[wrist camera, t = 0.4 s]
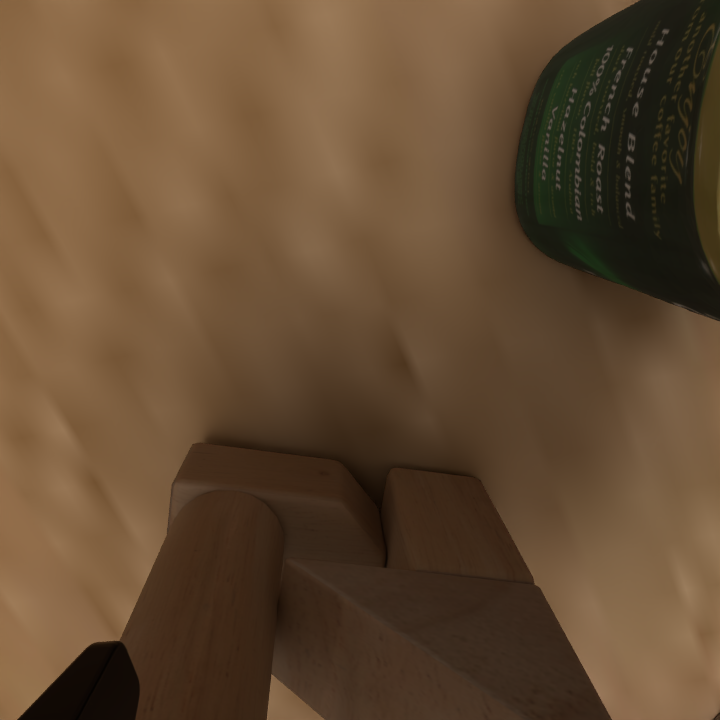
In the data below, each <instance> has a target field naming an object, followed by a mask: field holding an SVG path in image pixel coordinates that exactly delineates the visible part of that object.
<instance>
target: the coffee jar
mask: <svg viewBox="0 0 720 720" xmlns="http://www.w3.org/2000/svg"><path fill="white" fill-rule="evenodd" d="M515 203H516V210H517V214H518V217H519V220H520V223H521V225H522V227H523V229H524V231H525V233H526V234H527V236H528V237H529V239H530V240H531V241H532V242H533V244H534V245H535V246H536V247H537V248H538V249H540V250H541V251H542V252H543V253H545V254H546V255H547V256H549V257H551V258H552V259H554V260H556V261H558V262H561V263H563V264H565V265H568V266H571V267H573V268H576V269H579V270H581V271H584V272H587V273H589V274H592V275H595V276H598V277H601V278H604V279H606V280H609V281H612V282H615V283H618V284H621V285H624V286H627V287H629V288H632V289H635V290H637V291H640V292H643V293H645V294H648V295H650V296H653V297H655V298H658V299H661V300H663V301H666V302H668V303H671V304H673V305H676V306H679V307H682V308H685V309H687V310H689V311H692V312H694V313H698V314H701V315H704V316H707V317H709V318H712V319H715V320H717V321H720V0H640V1H638V2H637V3H635V4H633V5H631V6H630V7H628V8H626V9H624V10H622V11H620V12H618V13H616V14H614V15H613V16H611V17H609V18H608V19H606V20H604V21H602V22H600V23H599V24H597V25H595V26H594V27H592V28H590V29H589V30H587V31H586V32H584V33H583V34H581V35H580V36H578V37H577V38H575V39H574V40H572V41H571V42H570V43H568V44H567V45H566V46H564V47H563V48H562V49H561V50H560V51H559V52H558V53H557V54H556V55H555V56H554V57H553V58H552V59H551V61H550V62H549V63H548V65H547V66H546V68H545V69H544V70H543V72H542V74H541V76H540V78H539V79H538V81H537V84H536V86H535V88H534V91H533V94H532V97H531V99H530V102H529V105H528V109H527V113H526V117H525V122H524V126H523V130H522V134H521V138H520V143H519V149H518V155H517V162H516V172H515Z"/></svg>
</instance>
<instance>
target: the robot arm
mask: <svg viewBox="0 0 720 720" xmlns="http://www.w3.org/2000/svg"><path fill="white" fill-rule="evenodd" d="M139 696H140V683H139V679H138V676H137V673H136V671H135V668H134V666H133V663H132V661H131V658H130V656H129V654H128V651H127V649H126V647H125V645H124V644H123V643H122V642H120V641H107V642H96V643H93V644H91V645H90V646H88V647H87V648H86V649H85V650H84V651H83V652H82V653H81V654H80V655H79V656H78V657H77V658H76V659H75V660H74V661H73V662H72V663H71V664H70V666H69V667H68V668H67V669H66V670H65V671H64V672H63V673H62V674H61V675H60V676H59V677H58V678H57V679H56V680H55V681H54V682H53V683H52V684H51V685H50V686H49V687H48V688H47V689H46V690H45V691H44V692H43V694H42V695H41V696H40V697H39V698H38V699H37V700H36V701H35V702H34V703H33V704H32V705H31V706H30V707H29V708H28V709H27V710H26V711H25V712H24V713H23V714H22V715H21V716H20V717H19V718H18V719H17V720H135V719H136V714H137V708H138V703H139Z"/></svg>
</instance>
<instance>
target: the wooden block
mask: <svg viewBox="0 0 720 720" xmlns="http://www.w3.org/2000/svg"><path fill="white" fill-rule="evenodd" d="M120 642H122V643H123V644H124V645H125V647H126V649H127V651H128V654H129V656H130V658H131V661H132V663H133V666H134V668H135V671H136V673H137V676H138V679H139V683H140V696H139V703H138V708H137V714H136V719H135V720H267V710H268V701H269V691H270V681H271V674H272V675H274V676H275V677H276V678H277V679H278V680H279V681H281V682H282V683H283V684H284V685H285V686H286V687H288V688H289V689H290V690H291V691H292V692H294V693H295V694H296V695H297V696H298V697H299V698H301V699H302V700H303V701H304V702H305V703H306V704H308V705H309V706H310V707H311V708H312V709H313V710H315V711H316V712H317V713H318V714H319V715H321V716H322V717H323V718H324V719H325V720H612V719H611V717H610V715H609V714H608V712H607V710H606V708H605V706H604V704H603V703H602V701H601V699H600V697H599V695H598V693H597V692H596V690H595V688H594V686H593V684H592V683H591V681H590V679H589V677H588V675H587V673H586V672H585V670H584V668H583V666H582V664H581V662H580V661H579V659H578V657H577V655H576V653H575V651H574V650H573V648H572V646H571V644H570V642H569V640H568V639H567V637H566V635H565V633H564V631H563V629H562V628H561V626H560V624H559V622H558V620H557V618H556V617H555V615H554V613H553V611H552V609H551V607H550V606H549V604H548V602H547V600H546V598H545V596H544V595H543V593H542V591H541V589H540V588H539V587H538V586H536V585H535V584H534V579H533V576H532V575H531V573H530V571H529V569H528V567H527V565H526V563H525V562H524V560H523V558H522V556H521V554H520V552H519V551H518V549H517V547H516V545H515V543H514V541H513V540H512V538H511V536H510V534H509V532H508V530H507V529H506V527H505V525H504V523H503V521H502V519H501V518H500V516H499V514H498V512H497V510H496V508H495V507H494V505H493V503H492V501H491V499H490V497H489V495H488V494H487V492H486V490H485V488H484V486H483V484H482V483H481V481H480V480H478V479H476V478H475V477H467V476H459V475H451V474H443V473H435V472H427V471H420V470H412V469H404V468H392V469H391V470H390V472H389V473H388V475H387V479H386V484H385V490H384V495H383V501H382V507H381V512H379V510H378V508H377V506H376V505H375V504H374V502H373V501H372V500H371V499H370V497H369V496H368V495H367V494H366V492H365V491H364V490H363V489H362V487H361V486H360V485H359V484H358V482H357V481H356V480H355V479H354V477H353V476H352V475H351V474H350V472H349V471H348V470H347V469H346V467H345V466H344V465H343V464H342V463H340V462H339V461H336V460H331V459H323V458H315V457H307V456H299V455H292V454H284V453H276V452H268V451H260V450H252V449H245V448H237V447H229V446H221V445H213V444H206V443H196V444H193V445H192V447H191V448H190V450H189V452H188V454H187V456H186V458H185V460H184V462H183V464H182V466H181V468H180V470H179V472H178V474H177V476H176V478H175V480H174V482H173V484H172V489H171V498H170V508H169V518H168V528H167V536H166V538H165V541H164V543H163V545H162V547H161V549H160V552H159V554H158V556H157V558H156V561H155V563H154V565H153V567H152V570H151V572H150V574H149V576H148V579H147V581H146V583H145V585H144V587H143V590H142V592H141V594H140V596H139V599H138V601H137V603H136V605H135V608H134V610H133V612H132V614H131V616H130V619H129V621H128V623H127V625H126V628H125V630H124V632H123V634H122V637H121V639H120Z"/></svg>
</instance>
